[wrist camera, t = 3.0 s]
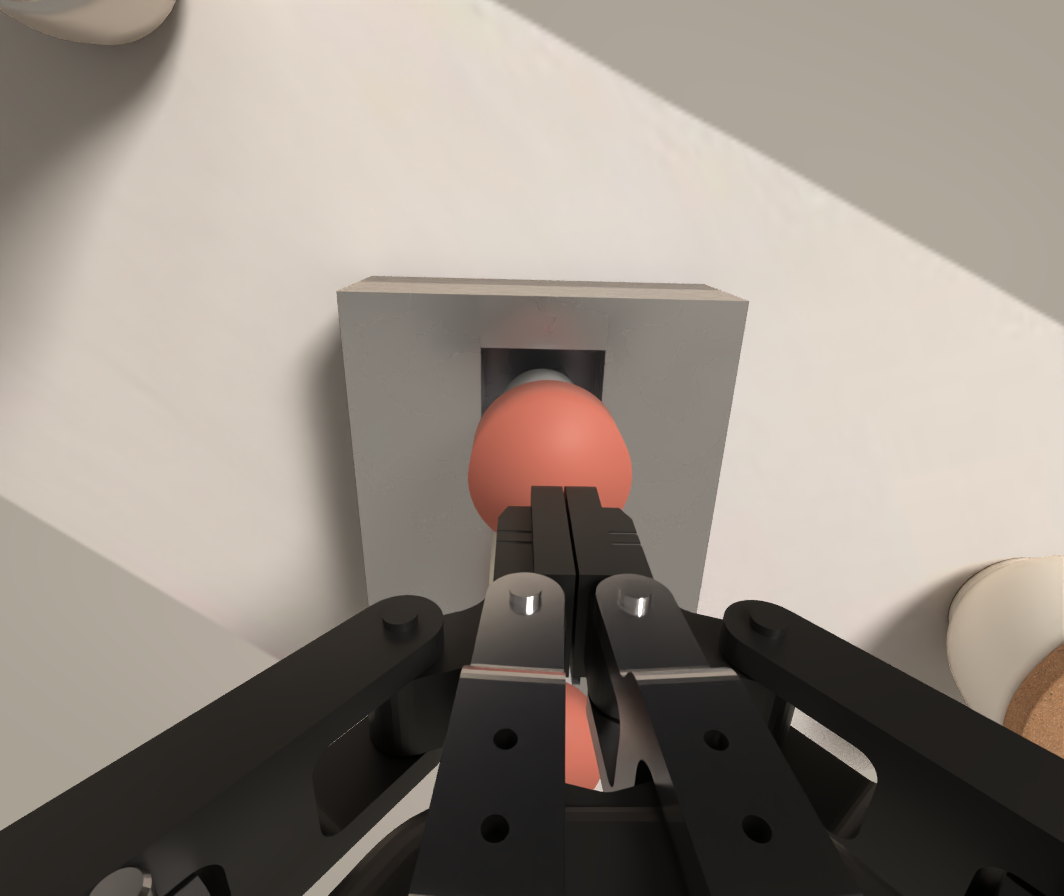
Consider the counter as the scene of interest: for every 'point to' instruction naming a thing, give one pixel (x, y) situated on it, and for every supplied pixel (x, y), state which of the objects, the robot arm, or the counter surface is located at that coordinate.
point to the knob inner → (545, 445)
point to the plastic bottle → (91, 18)
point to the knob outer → (578, 741)
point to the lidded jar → (1013, 647)
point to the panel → (482, 376)
